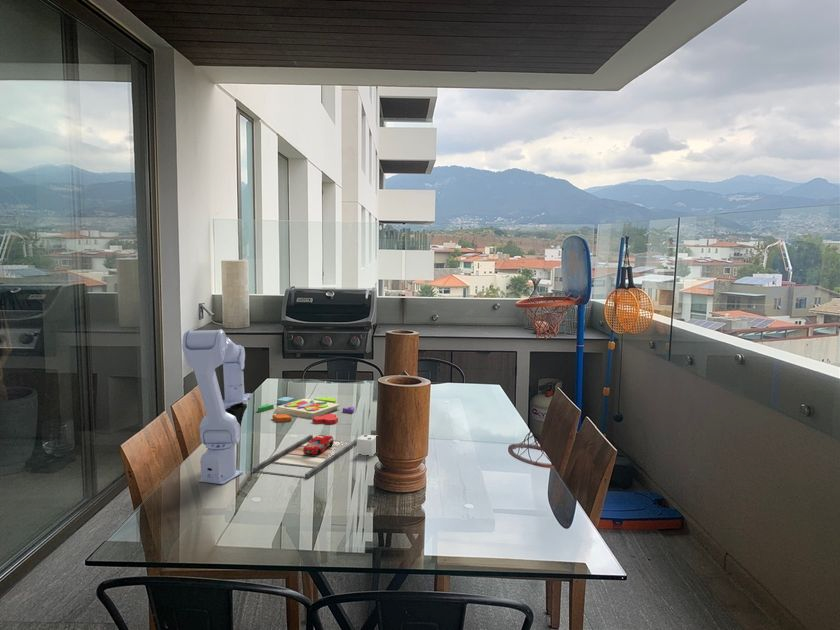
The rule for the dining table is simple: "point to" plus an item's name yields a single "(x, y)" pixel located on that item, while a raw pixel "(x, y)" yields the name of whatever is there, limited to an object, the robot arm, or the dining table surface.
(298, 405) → the pattern blocks set
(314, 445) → the race car
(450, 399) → the dining table surface
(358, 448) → the die
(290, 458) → the board
